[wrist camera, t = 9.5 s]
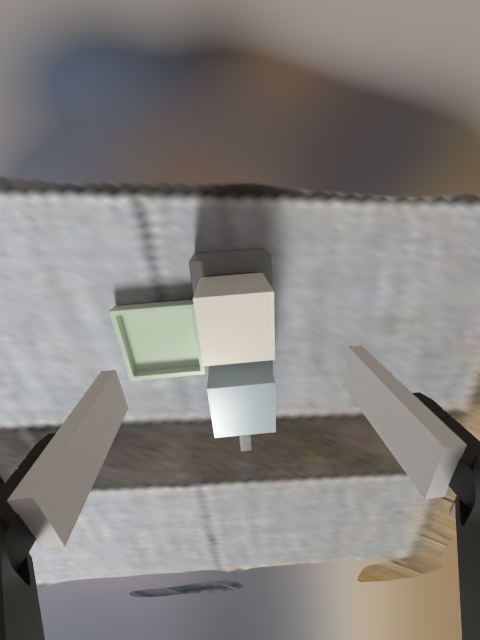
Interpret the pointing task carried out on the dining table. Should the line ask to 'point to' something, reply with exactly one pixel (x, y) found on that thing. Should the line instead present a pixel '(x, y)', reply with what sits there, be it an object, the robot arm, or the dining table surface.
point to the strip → (230, 267)
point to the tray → (158, 339)
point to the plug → (235, 318)
